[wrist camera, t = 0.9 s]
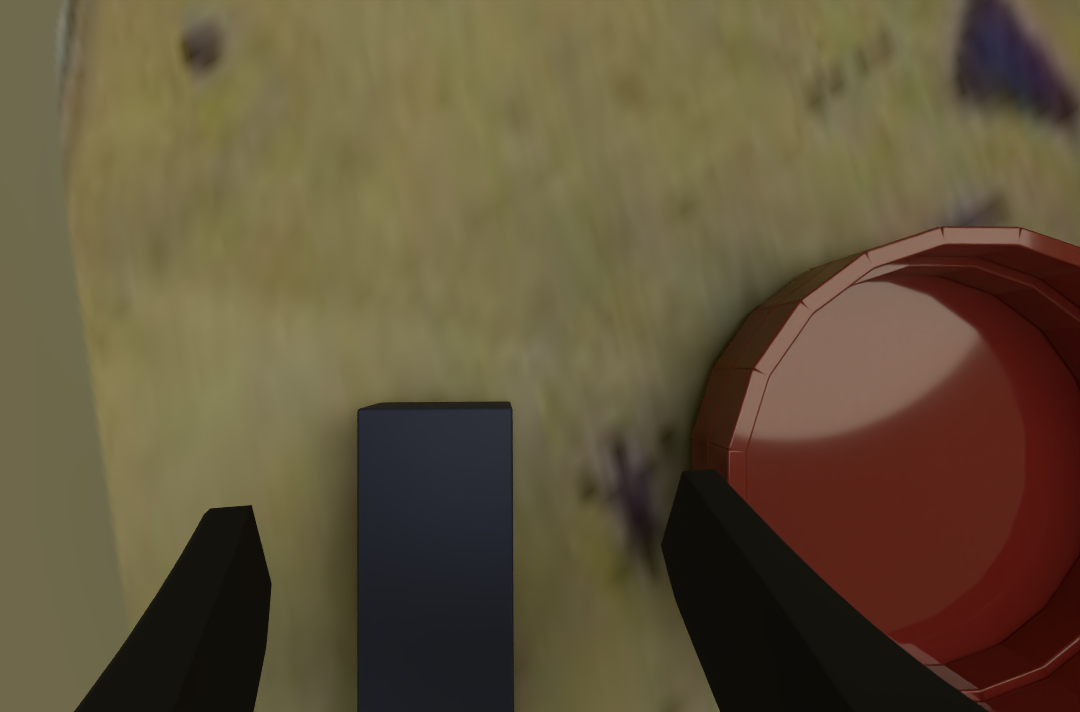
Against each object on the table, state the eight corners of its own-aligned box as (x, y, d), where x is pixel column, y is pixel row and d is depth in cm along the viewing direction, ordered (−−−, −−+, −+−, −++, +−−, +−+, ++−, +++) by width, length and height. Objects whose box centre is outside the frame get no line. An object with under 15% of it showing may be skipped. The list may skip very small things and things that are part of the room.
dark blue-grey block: (511, 714, 24) (514, 778, 20) (379, 719, 24) (356, 784, 20) (510, 401, 24) (512, 407, 21) (379, 402, 24) (356, 408, 20)
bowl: (1110, 678, 26) (1240, 744, 21) (688, 692, 25) (730, 763, 20) (1101, 252, 26) (1227, 227, 21) (684, 250, 25) (725, 223, 20)
